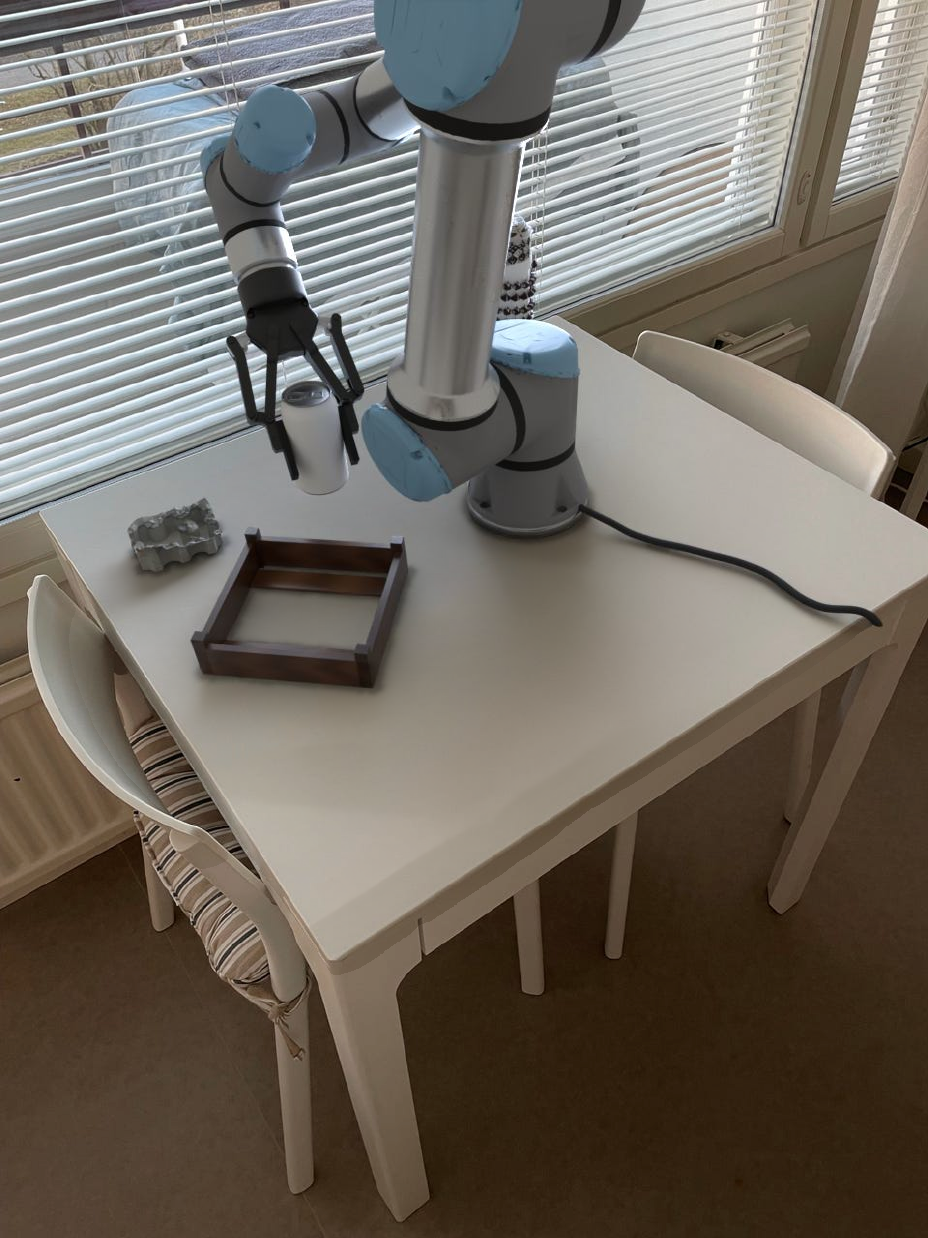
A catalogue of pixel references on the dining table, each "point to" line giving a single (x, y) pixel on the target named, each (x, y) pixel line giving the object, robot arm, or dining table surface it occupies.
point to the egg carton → (175, 535)
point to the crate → (311, 554)
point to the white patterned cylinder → (518, 275)
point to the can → (315, 437)
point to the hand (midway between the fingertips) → (325, 469)
